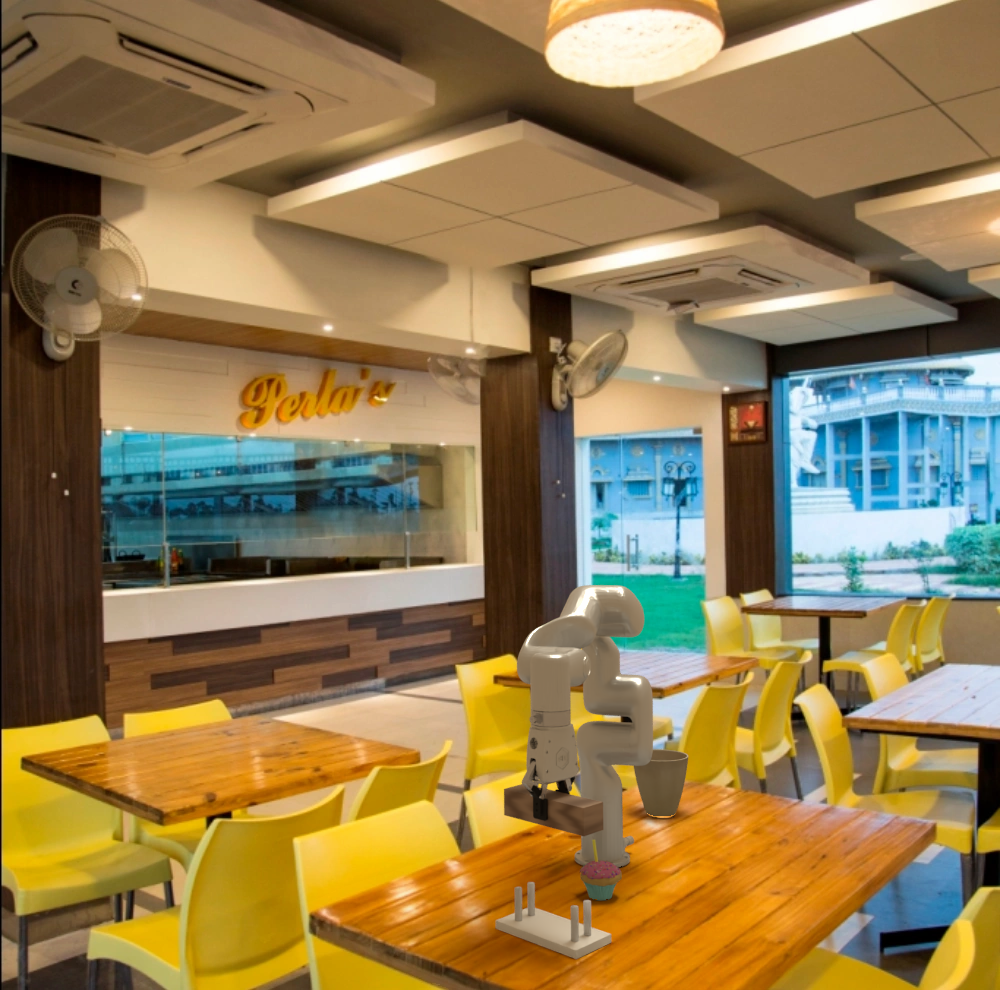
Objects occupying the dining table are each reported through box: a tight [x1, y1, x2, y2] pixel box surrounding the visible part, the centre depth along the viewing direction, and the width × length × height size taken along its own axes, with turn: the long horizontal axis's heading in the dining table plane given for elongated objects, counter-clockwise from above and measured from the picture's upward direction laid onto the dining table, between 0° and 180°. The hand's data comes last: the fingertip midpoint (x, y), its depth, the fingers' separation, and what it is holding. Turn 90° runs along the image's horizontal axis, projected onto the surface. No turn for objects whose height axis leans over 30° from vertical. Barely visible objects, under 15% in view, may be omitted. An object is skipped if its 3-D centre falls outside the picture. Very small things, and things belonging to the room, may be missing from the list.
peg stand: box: [495, 881, 612, 960], centre depth 186 cm, size 20×10×8 cm, turn 46°
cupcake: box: [579, 836, 623, 901], centre depth 206 cm, size 9×8×12 cm
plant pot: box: [633, 749, 689, 816], centre depth 266 cm, size 15×15×16 cm
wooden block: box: [503, 783, 603, 837], centre depth 187 cm, size 20×6×5 cm, turn 45°
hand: (551, 814), depth 187 cm, fingers closed on wooden block, 5 cm apart
